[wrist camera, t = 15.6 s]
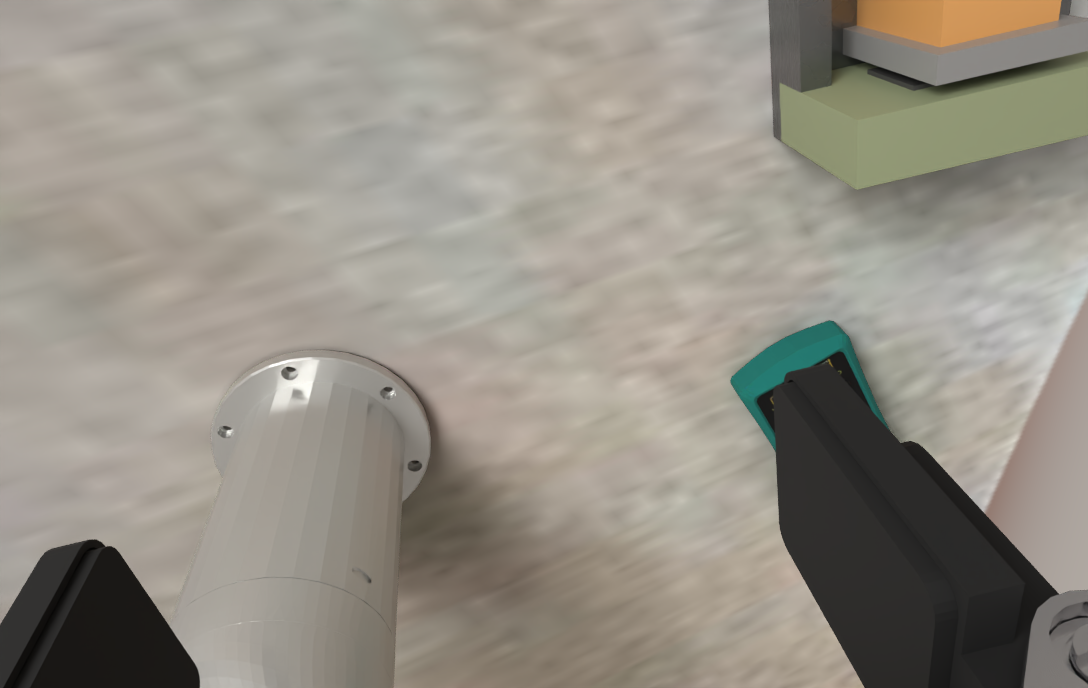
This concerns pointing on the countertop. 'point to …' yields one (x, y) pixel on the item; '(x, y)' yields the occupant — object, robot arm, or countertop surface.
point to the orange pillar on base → (961, 36)
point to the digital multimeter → (793, 355)
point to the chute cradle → (907, 103)
